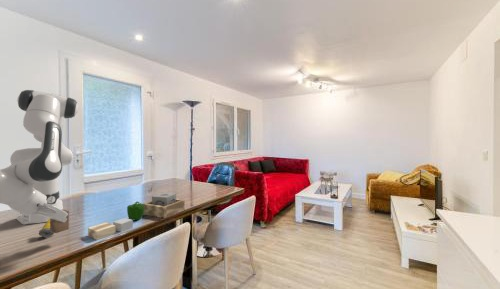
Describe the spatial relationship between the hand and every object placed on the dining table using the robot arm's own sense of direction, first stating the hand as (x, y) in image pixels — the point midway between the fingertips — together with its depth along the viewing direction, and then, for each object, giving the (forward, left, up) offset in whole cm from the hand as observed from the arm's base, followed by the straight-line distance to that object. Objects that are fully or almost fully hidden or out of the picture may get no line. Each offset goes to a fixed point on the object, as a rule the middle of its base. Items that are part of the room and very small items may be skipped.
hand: (61, 219), depth 95 cm
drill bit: (-13, 0, -10) cm, 16 cm away
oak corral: (+10, +48, -10) cm, 50 cm away
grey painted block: (+11, +21, -10) cm, 25 cm away
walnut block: (0, -1, -4) cm, 4 cm away
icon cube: (+10, +50, -10) cm, 52 cm away
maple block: (+8, +12, -10) cm, 18 cm away
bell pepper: (+5, +32, -10) cm, 34 cm away
